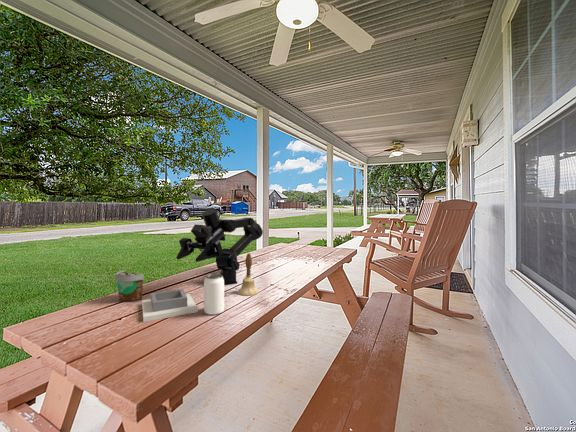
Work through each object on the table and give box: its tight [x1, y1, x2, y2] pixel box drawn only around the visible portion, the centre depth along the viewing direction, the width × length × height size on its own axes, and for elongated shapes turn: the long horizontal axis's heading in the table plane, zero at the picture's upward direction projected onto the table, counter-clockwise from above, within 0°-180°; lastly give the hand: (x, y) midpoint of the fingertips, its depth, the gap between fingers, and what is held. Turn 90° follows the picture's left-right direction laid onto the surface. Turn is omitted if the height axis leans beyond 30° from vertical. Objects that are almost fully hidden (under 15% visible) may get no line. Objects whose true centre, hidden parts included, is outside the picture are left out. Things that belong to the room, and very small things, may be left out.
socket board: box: [141, 288, 199, 323], centre depth 95 cm, size 16×16×4 cm
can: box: [203, 273, 225, 316], centre depth 92 cm, size 6×6×12 cm
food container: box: [114, 269, 145, 303], centre depth 102 cm, size 12×6×10 cm, turn 62°
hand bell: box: [237, 252, 259, 297], centre depth 112 cm, size 8×8×16 cm
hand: (186, 259), depth 102 cm, fingers open, 9 cm apart
